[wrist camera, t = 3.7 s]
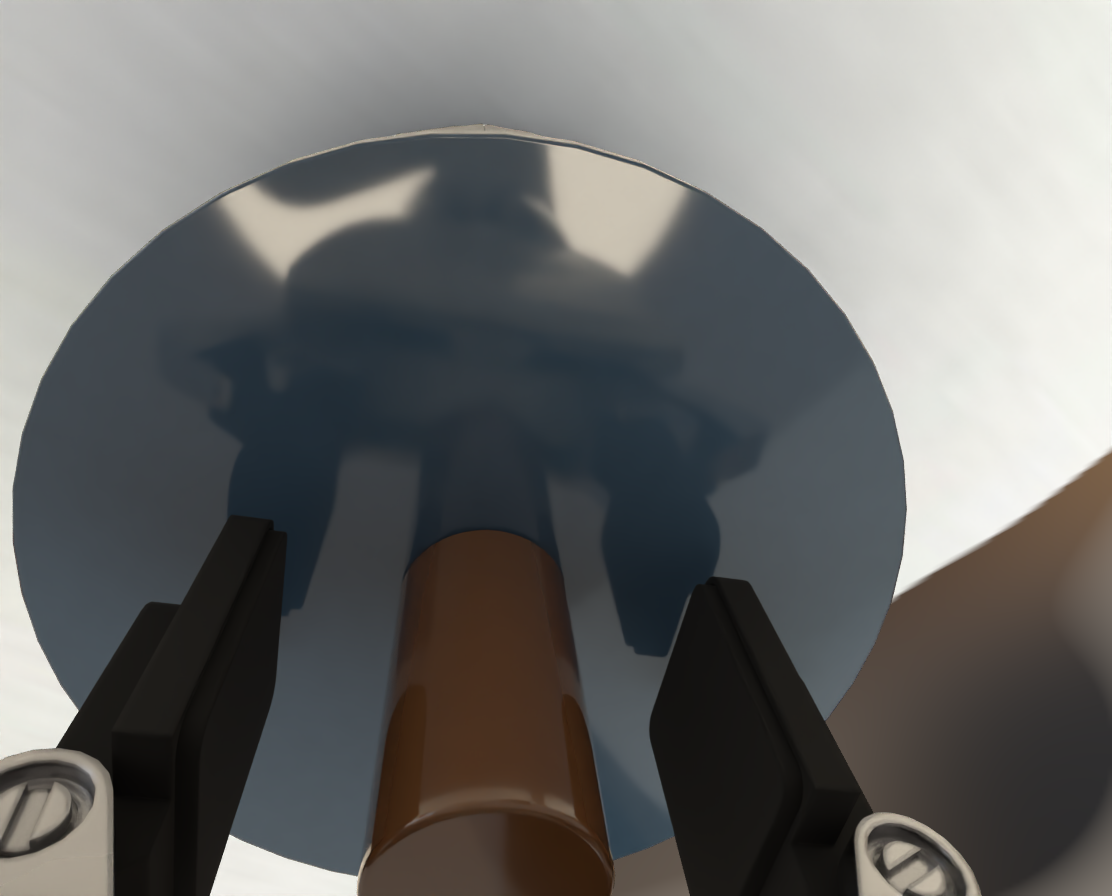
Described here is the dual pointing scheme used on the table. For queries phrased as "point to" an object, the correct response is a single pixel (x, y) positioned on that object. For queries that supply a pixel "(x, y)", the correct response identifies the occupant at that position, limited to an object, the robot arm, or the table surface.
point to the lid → (464, 486)
